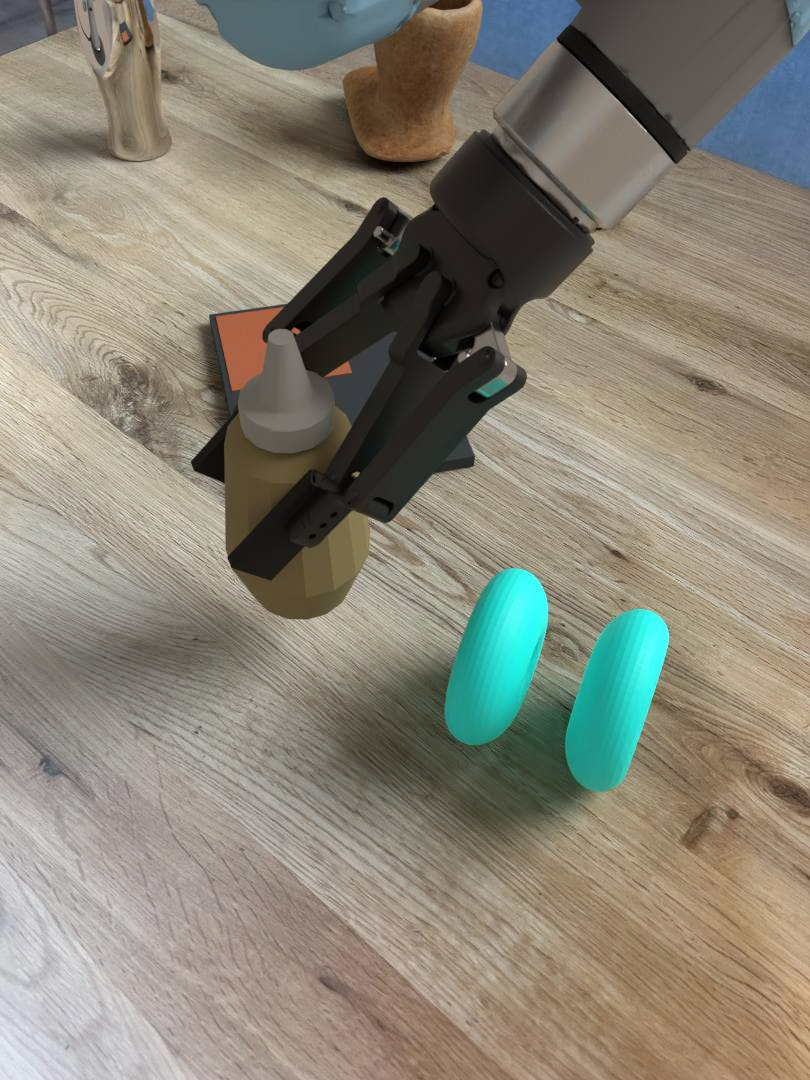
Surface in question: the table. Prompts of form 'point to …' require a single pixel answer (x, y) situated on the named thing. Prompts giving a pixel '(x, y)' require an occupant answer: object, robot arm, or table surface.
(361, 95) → the stone cup
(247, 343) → the mat
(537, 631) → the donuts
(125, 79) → the chrome sculpted vase
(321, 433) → the squeeze bottle
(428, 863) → the table surface
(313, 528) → the robot arm
